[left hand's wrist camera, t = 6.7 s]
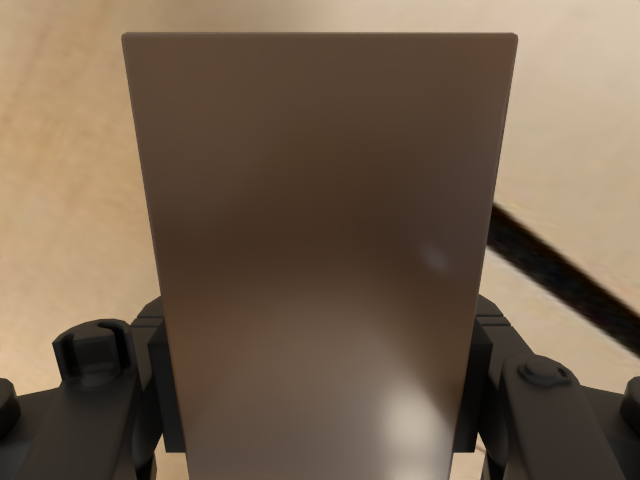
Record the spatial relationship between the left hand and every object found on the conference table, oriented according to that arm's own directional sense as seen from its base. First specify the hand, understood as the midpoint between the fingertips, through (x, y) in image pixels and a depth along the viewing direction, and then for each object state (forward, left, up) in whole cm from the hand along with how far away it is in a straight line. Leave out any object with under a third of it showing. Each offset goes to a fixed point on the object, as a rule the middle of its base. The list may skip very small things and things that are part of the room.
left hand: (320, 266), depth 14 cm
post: (+10, +32, -1) cm, 33 cm away
